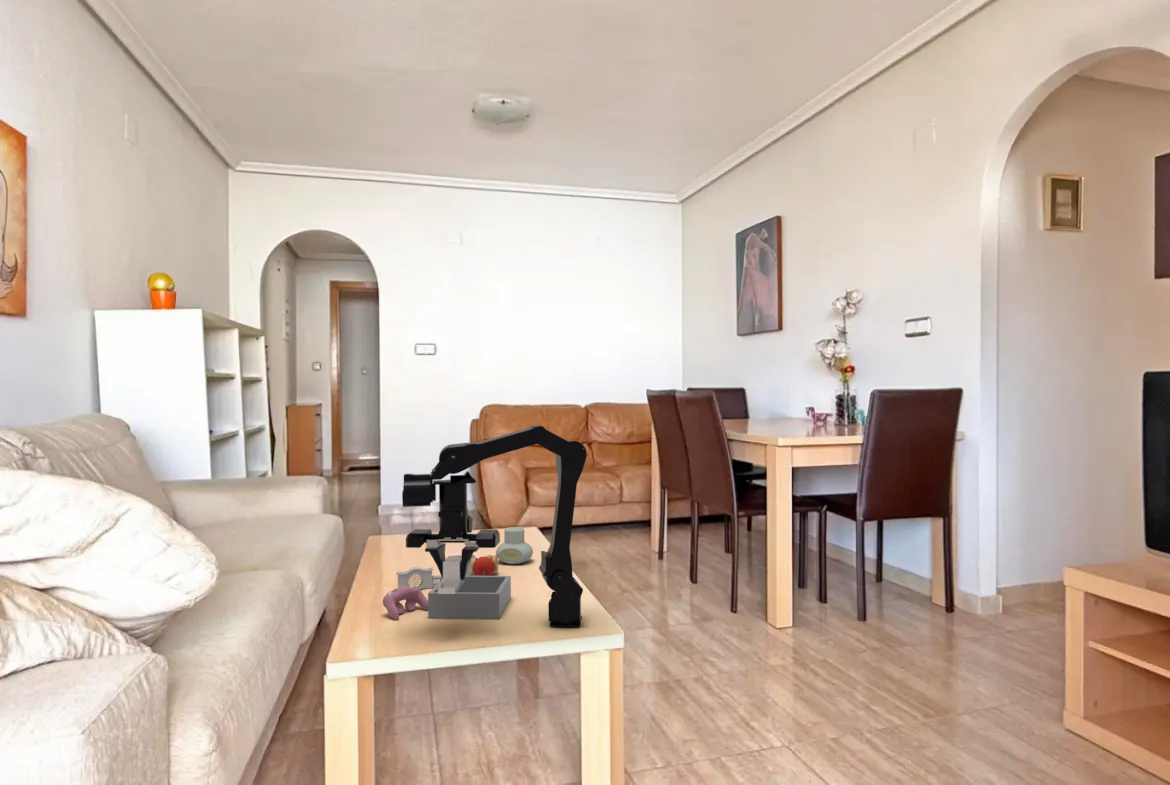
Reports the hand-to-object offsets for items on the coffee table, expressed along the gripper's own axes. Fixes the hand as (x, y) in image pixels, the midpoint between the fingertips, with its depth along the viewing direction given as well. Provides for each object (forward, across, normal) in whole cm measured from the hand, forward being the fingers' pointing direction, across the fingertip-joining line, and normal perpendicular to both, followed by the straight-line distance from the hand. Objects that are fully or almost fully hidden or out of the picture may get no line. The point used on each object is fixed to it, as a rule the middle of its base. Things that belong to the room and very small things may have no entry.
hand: (453, 579), depth 141 cm
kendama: (+11, +3, -47) cm, 49 cm away
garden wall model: (+11, +16, -31) cm, 37 cm away
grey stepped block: (+1, 0, +2) cm, 2 cm away
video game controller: (+11, +14, -12) cm, 22 cm away
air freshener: (+11, -3, -60) cm, 61 cm away
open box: (+11, 0, -16) cm, 19 cm away
